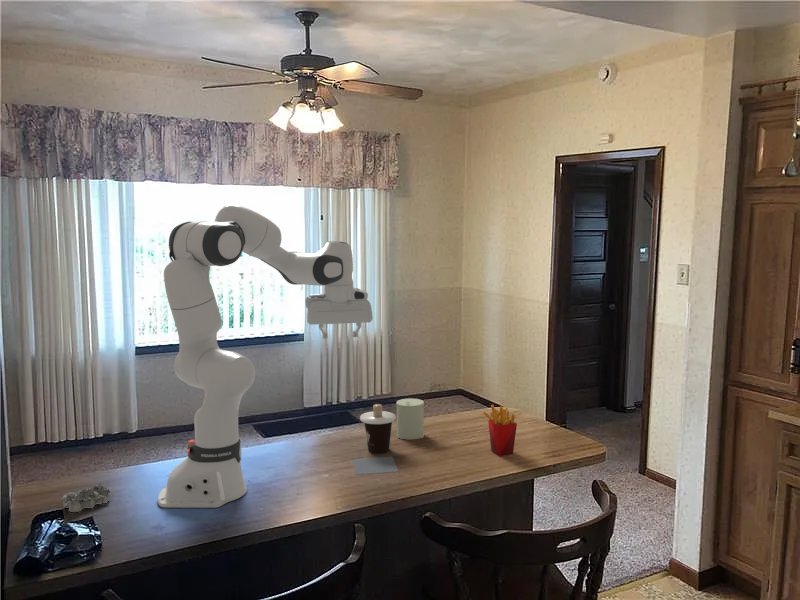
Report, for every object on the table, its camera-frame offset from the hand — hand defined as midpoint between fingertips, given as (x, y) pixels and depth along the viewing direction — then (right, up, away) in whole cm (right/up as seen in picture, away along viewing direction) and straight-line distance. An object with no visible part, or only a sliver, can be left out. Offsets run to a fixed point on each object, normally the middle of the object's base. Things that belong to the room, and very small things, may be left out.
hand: (340, 337), depth 209 cm
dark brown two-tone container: (+12, -35, +1) cm, 37 cm away
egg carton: (-62, -41, -36) cm, 83 cm away
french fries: (+49, -36, -4) cm, 61 cm away
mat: (+11, -37, -13) cm, 41 cm away
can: (+22, -34, +14) cm, 43 cm away
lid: (+12, -25, 0) cm, 28 cm away
